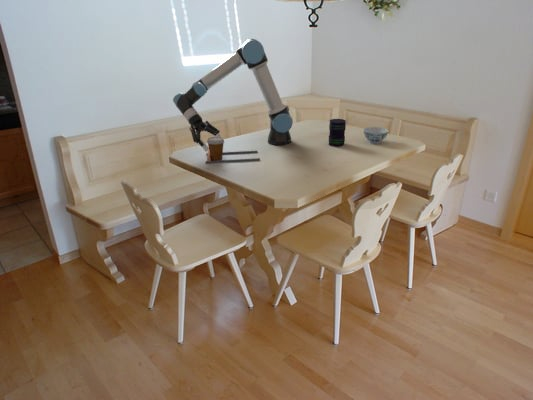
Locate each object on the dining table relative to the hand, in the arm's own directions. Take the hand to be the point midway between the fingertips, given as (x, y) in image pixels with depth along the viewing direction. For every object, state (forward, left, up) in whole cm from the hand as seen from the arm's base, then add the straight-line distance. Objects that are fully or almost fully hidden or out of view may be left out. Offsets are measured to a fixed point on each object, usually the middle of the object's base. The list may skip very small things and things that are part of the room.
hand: (215, 147), depth 223 cm
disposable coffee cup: (0, +4, -6) cm, 8 cm away
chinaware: (-99, -14, -6) cm, 101 cm away
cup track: (-9, +2, -6) cm, 11 cm away
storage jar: (-74, -13, -6) cm, 76 cm away
